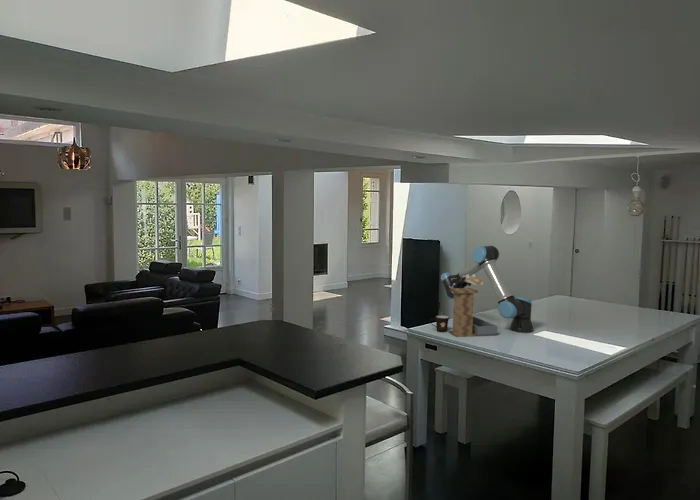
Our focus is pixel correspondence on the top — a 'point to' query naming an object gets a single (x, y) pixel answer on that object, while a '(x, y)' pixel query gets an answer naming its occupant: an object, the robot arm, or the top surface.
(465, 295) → the stand
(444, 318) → the coffee mug
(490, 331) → the tray
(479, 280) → the batten
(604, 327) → the top surface
